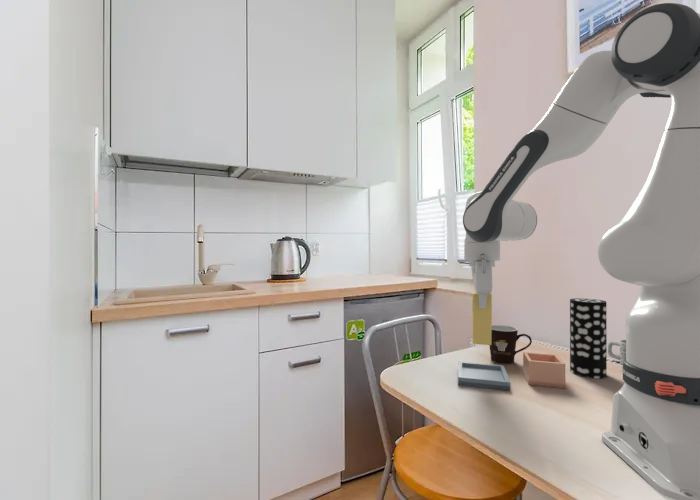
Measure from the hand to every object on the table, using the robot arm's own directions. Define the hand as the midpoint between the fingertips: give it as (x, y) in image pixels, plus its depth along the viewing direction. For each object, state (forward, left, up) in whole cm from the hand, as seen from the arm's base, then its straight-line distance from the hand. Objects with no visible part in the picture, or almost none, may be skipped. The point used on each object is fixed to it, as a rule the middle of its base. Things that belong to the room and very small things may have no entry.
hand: (481, 306), depth 93 cm
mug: (+26, -42, -19) cm, 53 cm away
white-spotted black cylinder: (+13, -28, -19) cm, 36 cm away
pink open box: (+3, -15, -19) cm, 25 cm away
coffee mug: (+17, -8, -19) cm, 27 cm away
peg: (0, 0, -10) cm, 10 cm away
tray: (0, 0, -19) cm, 19 cm away
